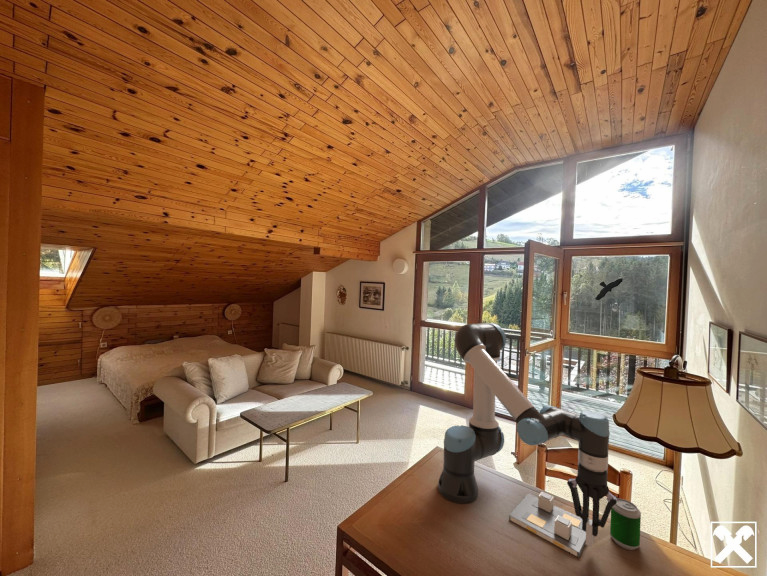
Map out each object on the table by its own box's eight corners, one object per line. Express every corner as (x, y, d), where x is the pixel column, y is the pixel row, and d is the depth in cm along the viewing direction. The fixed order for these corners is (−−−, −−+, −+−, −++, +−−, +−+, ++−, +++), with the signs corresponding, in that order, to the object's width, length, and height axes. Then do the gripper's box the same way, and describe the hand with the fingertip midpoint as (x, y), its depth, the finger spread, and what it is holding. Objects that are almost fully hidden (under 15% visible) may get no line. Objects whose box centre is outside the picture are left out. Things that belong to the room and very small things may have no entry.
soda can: (645, 554, 97) (646, 515, 97) (617, 549, 98) (618, 510, 98) (631, 535, 104) (632, 498, 104) (605, 531, 106) (606, 495, 106)
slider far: (538, 506, 114) (538, 494, 114) (541, 502, 116) (541, 490, 116) (550, 512, 111) (550, 500, 111) (553, 508, 113) (553, 495, 113)
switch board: (508, 520, 109) (508, 515, 109) (528, 497, 122) (528, 492, 122) (578, 558, 95) (578, 552, 95) (592, 528, 107) (592, 522, 107)
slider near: (554, 533, 102) (554, 519, 102) (557, 527, 104) (558, 514, 104) (568, 540, 99) (568, 526, 99) (571, 534, 101) (571, 520, 101)
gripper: (564, 461, 98) (561, 537, 98) (616, 480, 89) (613, 564, 89) (571, 452, 103) (568, 525, 104) (621, 470, 94) (618, 549, 94)
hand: (589, 543), depth 96 cm, fingers closed
